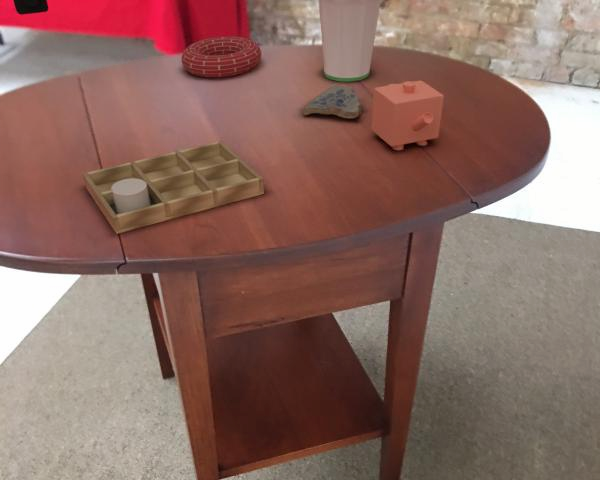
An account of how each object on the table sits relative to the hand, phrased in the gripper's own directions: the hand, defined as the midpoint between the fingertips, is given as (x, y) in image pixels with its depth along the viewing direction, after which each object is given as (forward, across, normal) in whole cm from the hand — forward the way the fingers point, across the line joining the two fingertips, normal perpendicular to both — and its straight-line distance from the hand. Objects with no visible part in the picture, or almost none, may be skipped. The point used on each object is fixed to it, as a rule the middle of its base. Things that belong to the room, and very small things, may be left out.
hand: (24, 1), depth 69 cm
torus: (+22, -39, +37) cm, 58 cm away
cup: (+22, -23, +56) cm, 64 cm away
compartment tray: (+22, +5, +12) cm, 26 cm away
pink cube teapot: (+22, +7, +48) cm, 53 cm away
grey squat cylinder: (+22, +8, +6) cm, 24 cm away
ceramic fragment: (+22, -9, +46) cm, 52 cm away
